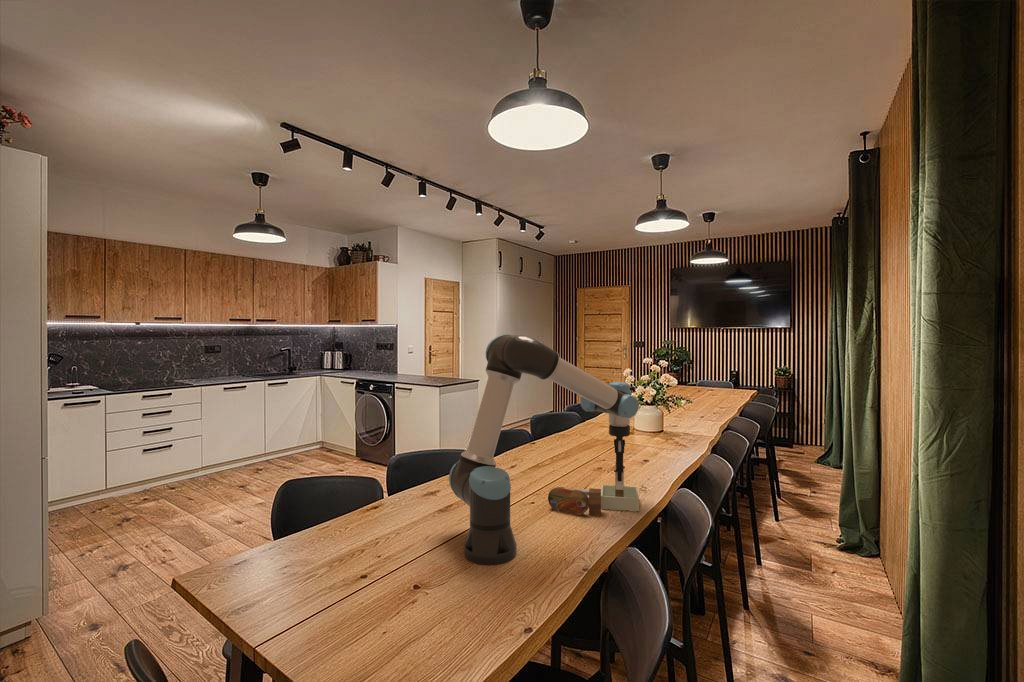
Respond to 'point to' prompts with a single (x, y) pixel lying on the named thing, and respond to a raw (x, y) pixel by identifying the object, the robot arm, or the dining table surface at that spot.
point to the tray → (619, 498)
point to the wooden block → (594, 501)
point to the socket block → (585, 492)
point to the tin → (568, 500)
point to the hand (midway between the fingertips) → (619, 487)
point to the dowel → (619, 492)
